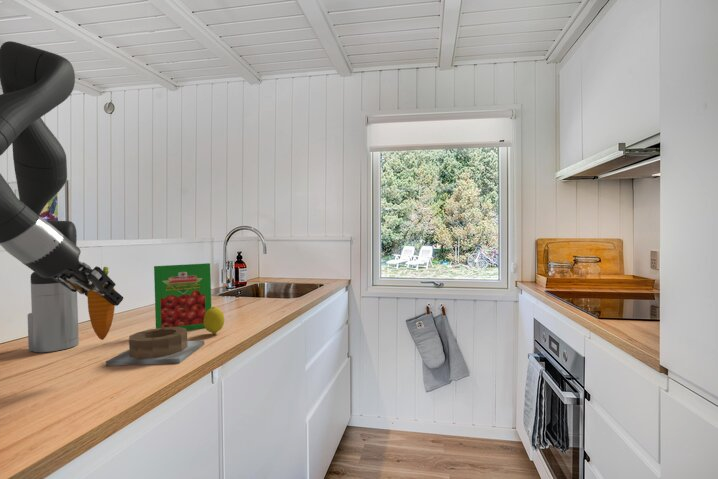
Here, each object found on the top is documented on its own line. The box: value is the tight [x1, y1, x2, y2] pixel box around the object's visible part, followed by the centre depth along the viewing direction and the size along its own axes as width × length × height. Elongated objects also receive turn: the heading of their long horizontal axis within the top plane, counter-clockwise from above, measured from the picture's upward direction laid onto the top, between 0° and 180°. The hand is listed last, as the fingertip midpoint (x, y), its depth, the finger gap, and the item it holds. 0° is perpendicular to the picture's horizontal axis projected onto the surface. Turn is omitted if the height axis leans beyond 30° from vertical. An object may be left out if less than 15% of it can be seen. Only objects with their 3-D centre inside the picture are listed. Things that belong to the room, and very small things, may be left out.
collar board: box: [105, 327, 205, 367], centre depth 87 cm, size 16×14×5 cm
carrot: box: [86, 266, 116, 341], centre depth 74 cm, size 5×5×15 cm
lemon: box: [204, 306, 225, 335], centre depth 104 cm, size 6×6×8 cm
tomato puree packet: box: [153, 262, 212, 331], centre depth 109 cm, size 15×1×20 cm, turn 118°
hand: (110, 301), depth 76 cm, fingers closed on carrot, 5 cm apart
